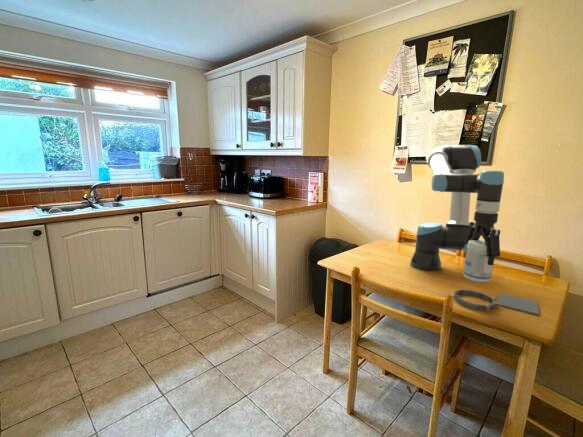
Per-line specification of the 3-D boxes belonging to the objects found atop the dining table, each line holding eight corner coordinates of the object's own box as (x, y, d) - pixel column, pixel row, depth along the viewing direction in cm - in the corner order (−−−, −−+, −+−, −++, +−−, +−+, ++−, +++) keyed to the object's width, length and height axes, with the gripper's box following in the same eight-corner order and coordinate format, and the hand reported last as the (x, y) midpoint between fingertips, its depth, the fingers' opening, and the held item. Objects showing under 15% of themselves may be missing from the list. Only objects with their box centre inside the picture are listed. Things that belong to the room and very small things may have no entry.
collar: (451, 303, 118) (451, 298, 118) (457, 291, 129) (457, 286, 129) (496, 315, 109) (497, 310, 109) (498, 301, 120) (499, 296, 120)
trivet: (496, 305, 117) (496, 303, 117) (498, 293, 127) (498, 292, 127) (538, 315, 109) (539, 314, 109) (537, 302, 120) (537, 301, 119)
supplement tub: (457, 273, 123) (462, 239, 120) (480, 273, 123) (485, 239, 120) (472, 283, 113) (477, 246, 110) (496, 283, 113) (502, 246, 110)
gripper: (459, 206, 123) (452, 257, 128) (498, 217, 101) (488, 278, 106) (476, 206, 123) (469, 257, 128) (519, 217, 102) (508, 278, 106)
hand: (478, 267), depth 117 cm, fingers closed on supplement tub, 10 cm apart
